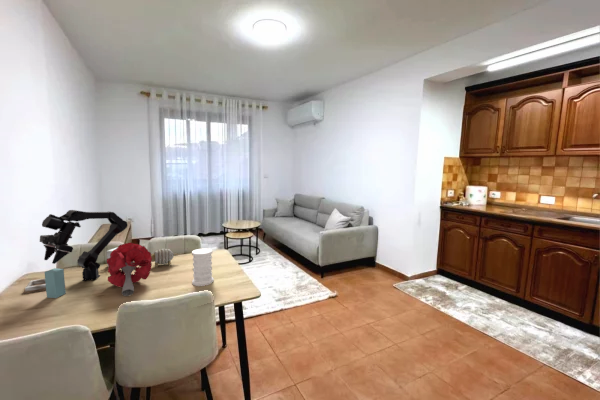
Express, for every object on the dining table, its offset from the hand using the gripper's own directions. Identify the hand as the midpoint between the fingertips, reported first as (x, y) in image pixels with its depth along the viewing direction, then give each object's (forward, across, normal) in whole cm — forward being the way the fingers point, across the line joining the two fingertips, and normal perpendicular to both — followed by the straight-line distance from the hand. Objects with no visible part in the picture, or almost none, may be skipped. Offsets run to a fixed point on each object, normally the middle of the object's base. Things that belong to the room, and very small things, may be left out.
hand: (49, 261), depth 142 cm
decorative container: (-10, +57, +49) cm, 76 cm away
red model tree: (+2, +28, +28) cm, 40 cm away
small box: (-4, -12, +40) cm, 42 cm away
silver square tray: (+14, -10, +7) cm, 18 cm away
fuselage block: (+14, +9, +6) cm, 18 cm away
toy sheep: (-12, +15, +54) cm, 57 cm away
